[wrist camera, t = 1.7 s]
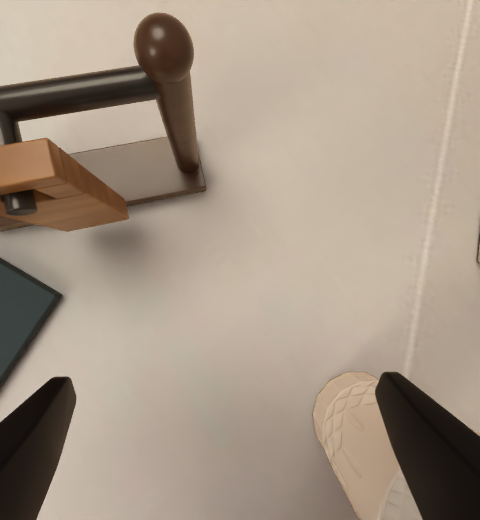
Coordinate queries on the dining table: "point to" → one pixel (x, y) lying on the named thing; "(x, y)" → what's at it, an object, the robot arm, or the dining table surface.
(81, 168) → the oak block with hole
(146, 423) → the dining table surface
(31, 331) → the rubber mat
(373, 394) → the white cup
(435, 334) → the dining table surface
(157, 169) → the rail stand
